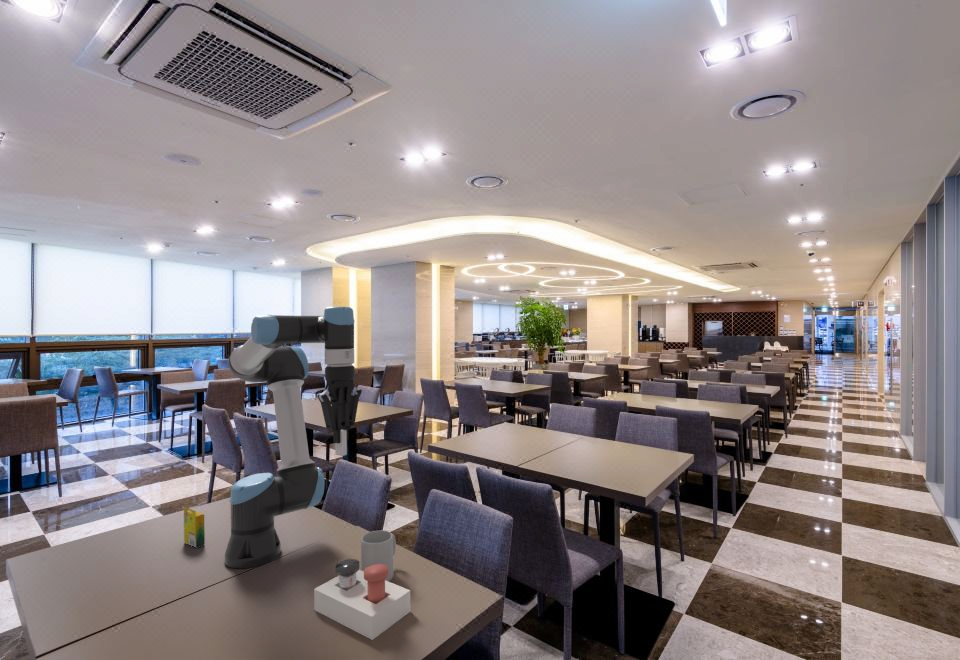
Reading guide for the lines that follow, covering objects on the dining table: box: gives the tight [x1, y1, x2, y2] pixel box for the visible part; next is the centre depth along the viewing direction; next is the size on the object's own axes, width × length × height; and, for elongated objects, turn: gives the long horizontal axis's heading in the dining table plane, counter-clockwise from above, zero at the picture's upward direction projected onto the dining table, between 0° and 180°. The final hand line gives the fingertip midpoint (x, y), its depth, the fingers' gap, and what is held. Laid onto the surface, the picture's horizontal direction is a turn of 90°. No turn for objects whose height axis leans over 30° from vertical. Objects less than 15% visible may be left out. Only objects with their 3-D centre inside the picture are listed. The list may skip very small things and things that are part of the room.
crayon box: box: [183, 506, 206, 548], centre depth 146 cm, size 7×3×12 cm, turn 58°
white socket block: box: [313, 569, 412, 641], centre depth 109 cm, size 20×12×5 cm, turn 56°
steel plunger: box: [335, 558, 360, 591], centre depth 112 cm, size 6×6×9 cm
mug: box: [360, 529, 397, 582], centre depth 126 cm, size 12×8×11 cm
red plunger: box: [364, 564, 388, 604], centre depth 106 cm, size 6×6×9 cm
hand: (341, 454), depth 121 cm, fingers closed
